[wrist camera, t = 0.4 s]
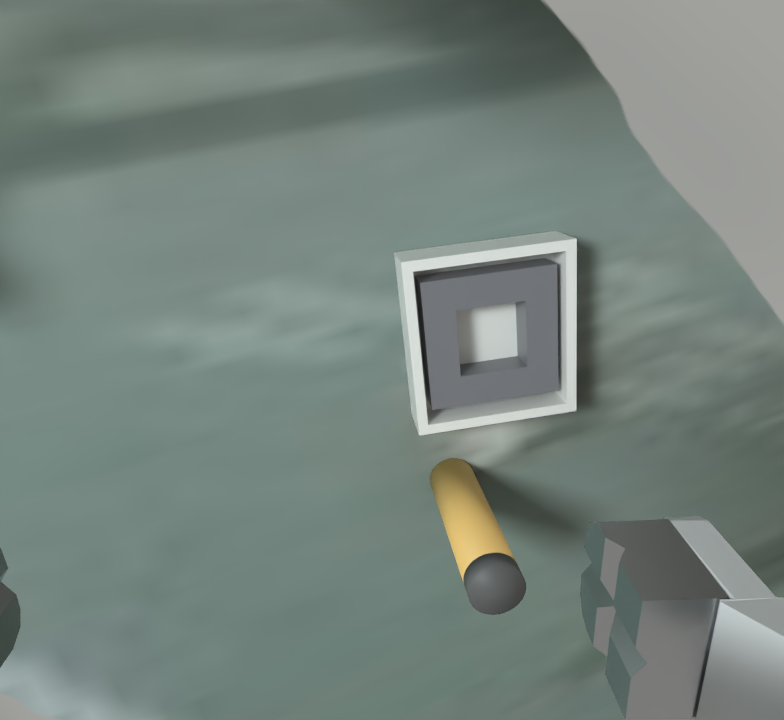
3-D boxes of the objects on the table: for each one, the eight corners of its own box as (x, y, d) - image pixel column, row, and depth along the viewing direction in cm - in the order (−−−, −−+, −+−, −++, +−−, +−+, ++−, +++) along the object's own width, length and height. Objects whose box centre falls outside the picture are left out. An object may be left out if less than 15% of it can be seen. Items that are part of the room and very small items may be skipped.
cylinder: (428, 462, 53) (466, 572, 39) (471, 455, 53) (525, 562, 39) (432, 499, 54) (470, 619, 41) (474, 492, 54) (526, 608, 41)
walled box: (394, 252, 46) (400, 262, 42) (556, 230, 47) (576, 238, 43) (411, 413, 51) (419, 435, 47) (557, 391, 52) (576, 410, 48)
